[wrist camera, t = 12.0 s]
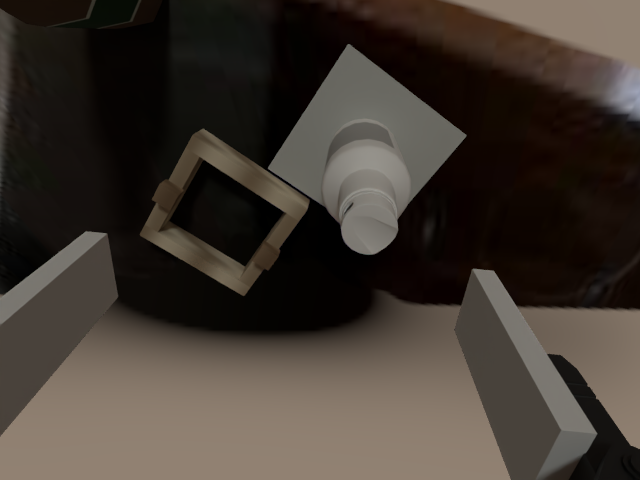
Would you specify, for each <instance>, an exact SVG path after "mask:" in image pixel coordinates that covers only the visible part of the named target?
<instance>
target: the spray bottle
mask: <svg viewBox="0 0 640 480" xmlns="http://www.w3.org/2000/svg"><path fill="white" fill-rule="evenodd" d="M321 192H322V199H323V202H324V204H325V206H326V208H327V210H328V212H329V213H330V215H331V216H332V217H333V218H334V219H335V220H336V221H337V222H339V223H340V225H341V233H342V237H343V239H344V241H345V243H346V244H347V245H348V246H349V247H350V248H351V249H352V250H354V251H356V252H358V253H362V254H367V255H369V254H376V253H377V252H379V251H380V250H382V249H384V248H385V247H386V246H387V245H389V244H390V243H391V242H392V240H393V239H394V238H395V236H396V234H397V232H398V223H397V220H398V217H400V215H401V214H402V212H403V211H404V209H405V208H406V207H407V205H408V201H409V198H410V195H411V177H410V175H409V172H408V169H407V167H406V164H405V162H404V160H403V157H402V155H401V152H400V150H399V147H398V145H397V142H396V140H395V138H394V135H393V134H392V133H391V131H390V130H389V129H388V128H387V127H386V126H385V125H383V124H381V123H380V122H378V121H375V120H371V119H366V118H365V119H357V120H353V121H351V122H349V123H346V124H344V125H343V126H342V127H341V128H340V129H339V130H338V131H337V132H336V133H335V134H334V136H333V138H332V140H331V142H330V146H329V151H328V155H327V160H326V165H325V170H324V174H323V179H322V184H321Z"/></svg>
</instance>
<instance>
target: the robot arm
mask: <svg viewBox="0 0 640 480" xmlns="http://www.w3.org/2000/svg"><path fill="white" fill-rule="evenodd" d="M117 298H118V294H117V288H116V282H115V276H114V270H113V265H112V259H111V253H110V247H109V241H108V235H107V234H106V233H96V232H85V233H83V234H82V235H81V236H80V237H78V238H77V239H76V240H74V241H73V242H72V243H71V244H69V245H68V246H67V247H65V248H64V249H63V250H62V251H60V252H59V253H58V254H56V255H55V256H54V257H53V258H51V259H50V260H49V261H48V262H46V263H45V264H44V265H42V266H41V267H40V268H39V269H37V270H36V271H35V272H33V273H32V274H31V275H30V276H28V277H27V278H26V279H24V280H23V281H22V282H21V283H19V284H18V285H17V286H15V287H14V288H13V289H12V290H10V291H9V292H8V293H6V294H5V295H4V296H3V297H1V298H0V436H1V435H2V434H3V432H4V431H5V430H6V429H7V427H8V426H9V425H10V424H11V423H12V422H13V421H14V419H15V418H16V417H17V416H18V415H19V413H20V412H21V411H22V410H23V409H24V408H25V406H26V405H27V404H28V403H29V402H30V400H31V399H32V398H33V397H34V396H35V395H36V393H37V392H38V391H39V390H40V389H41V387H42V386H43V385H44V384H45V383H46V382H47V380H48V379H49V378H50V377H51V376H52V374H53V373H54V372H55V371H56V370H57V369H58V367H59V366H60V365H61V364H62V363H63V361H64V360H65V359H66V358H67V357H68V356H69V354H70V353H71V352H72V351H73V350H74V348H75V347H76V346H77V345H78V343H80V341H81V340H82V339H83V338H84V337H85V335H86V334H87V333H88V332H89V331H90V329H91V328H92V327H93V326H94V325H95V324H96V322H97V321H98V320H99V319H100V318H101V317H102V315H103V314H104V313H105V312H106V311H107V309H108V308H109V307H110V306H111V305H112V304H113V302H114V301H115V300H116V299H117ZM454 330H455V332H456V335H457V338H458V340H459V343H460V346H461V348H462V351H463V353H464V356H465V359H466V362H467V364H468V367H469V370H470V372H471V375H472V378H473V380H474V383H475V385H476V388H477V391H478V393H479V396H480V399H481V401H482V404H483V407H484V409H485V412H486V415H487V417H488V420H489V422H490V425H491V428H492V430H493V433H494V436H495V438H496V441H497V444H498V446H499V449H500V452H501V454H502V457H503V460H504V462H505V465H506V468H507V470H508V473H509V475H510V478H511V480H640V449H638V448H636V447H633V446H630V444H629V443H628V441H627V440H626V438H625V437H624V436H623V434H622V433H621V431H620V430H619V429H618V427H617V426H616V424H615V423H614V421H613V420H612V418H611V417H610V416H609V414H608V413H607V411H606V410H605V408H604V407H603V406H602V404H601V403H600V401H599V400H598V399H596V396H595V394H594V393H593V391H592V390H591V388H590V387H588V386H587V383H586V381H585V380H584V378H583V377H582V375H581V374H580V373H579V371H578V370H577V369H576V368H575V367H574V366H573V365H572V364H571V363H569V362H568V361H567V360H566V359H565V358H563V357H562V356H561V355H552V354H546V352H545V351H544V349H543V348H542V346H541V344H540V343H539V341H538V340H537V338H536V337H535V335H534V333H533V332H532V330H531V329H530V327H529V326H528V324H527V322H526V321H525V319H524V318H523V316H522V315H521V313H520V311H519V310H518V308H517V307H516V305H515V303H514V302H513V300H512V299H511V297H510V296H509V294H508V292H507V291H506V289H505V288H504V286H503V285H502V283H501V281H500V280H499V278H498V277H497V275H496V274H495V272H494V271H489V270H479V269H472V272H471V275H470V279H469V282H468V285H467V289H466V292H465V296H464V299H463V302H462V306H461V309H460V312H459V316H458V319H457V323H456V326H455V329H454Z"/></svg>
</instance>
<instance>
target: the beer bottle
mask: <svg viewBox="0 0 640 480" xmlns="http://www.w3.org/2000/svg"><path fill="white" fill-rule="evenodd" d="M162 1H163V0H0V8H1V9H2V10H4V11H5V12H7V13H8V14H10V15H12V16H14V17H16V18H17V19H19V20H21V21H23V22H25V23H26V24H31V25H37V26H44V27H66V28H97V29H120V28H127V27H132V26H136V25H141V24H146V23H150V22H154V19H155V17H156V15H157V13H158V10H159V8H160V6H161V4H162Z"/></svg>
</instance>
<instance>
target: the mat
mask: <svg viewBox="0 0 640 480" xmlns="http://www.w3.org/2000/svg"><path fill="white" fill-rule="evenodd" d="M365 118H366V119H371V120H375V121H378V122H380V123H381V124H383V125H385V126H386V127H387V128H388V129H389V130H390V131H391V133H392V134H393V135H394V138H395V140H396V142H397V145H398V147H399V150H400V152H401V155H402V157H403V160H404V162H405V164H406V167H407V169H408V172H409V175H410V177H411V195H410V198H409V201H408V203H409V202H410V201H411V200H412V199H413V198H414V197H415V195H416V194H417V193H418V192H419V191H420V190H421V188H422V187H423V186H424V185H425V184H426V183H427V181H428V180H429V179H430V178H431V177H432V176H433V174H434V173H435V172H436V171H437V170H438V169H439V167H440V166H441V165H442V164H443V163H444V162H445V160H446V159H447V158H448V157H449V156H450V155H451V154H452V152H453V151H454V150H455V149H456V148H457V147H458V145H459V144H460V143H461V142H462V141H463V140H464V138H465V137H466V135H465V134H464V133H463V132H461V131H460V130H459V129H458V128H456V127H455V126H454V125H452V124H451V123H450V122H449V121H447V120H446V119H445V118H443V117H442V116H441V115H440V114H438V113H437V112H436V111H434V110H433V109H432V108H430V107H429V106H428V105H427V104H425V103H424V102H423V101H421V100H420V99H419V98H418V97H416V96H415V95H414V94H412V93H411V92H410V91H409V90H407V89H406V88H405V87H403V86H402V85H401V84H400V83H398V82H397V81H396V80H394V79H393V78H392V77H391V76H389V75H388V74H387V73H385V72H384V71H383V70H382V69H380V68H379V67H378V66H376V65H375V64H374V63H373V62H371V61H370V60H369V59H367V58H366V57H365V56H364V55H362V54H361V53H360V52H358V51H357V50H356V49H355V48H353V47H352V46H351V45H349V44H348V45H347V47H346V48H345V50H344V51H343V53H342V55H341V56H340V58H339V59H338V61H337V62H336V64H335V65H334V67H333V68H332V70H331V72H330V73H329V75H328V76H327V78H326V79H325V81H324V82H323V84H322V85H321V87H320V88H319V90H318V92H317V93H316V95H315V96H314V98H313V99H312V101H311V102H310V104H309V105H308V107H307V109H306V110H305V112H304V113H303V115H302V116H301V118H300V119H299V121H298V122H297V124H296V126H295V127H294V129H293V130H292V132H291V133H290V135H289V136H288V138H287V139H286V141H285V143H284V144H283V146H282V147H281V149H280V150H279V152H278V153H277V155H276V156H275V158H274V160H273V161H272V163H271V164H270V166H269V167H268V169H269V170H271V171H272V172H274V173H275V174H277V175H278V176H280V177H281V178H283V179H284V180H286V181H287V182H289V183H290V184H292V185H293V186H294V187H296V188H297V189H299V190H300V191H302V192H303V193H305V194H306V195H308V196H309V197H311V198H312V199H314V200H315V201H317V202H318V203H320V204H321V205H323V206H324V207H326V206H325V204H324V202H323V199H322V192H321V184H322V179H323V174H324V170H325V165H326V160H327V155H328V151H329V146H330V142H331V140H332V138H333V136H334V134H335V133H336V132H337V131H338V130H339V129H340V128H341V127H342V126H343V125H344V124H346V123H349V122H351V121H353V120H357V119H365Z"/></svg>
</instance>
